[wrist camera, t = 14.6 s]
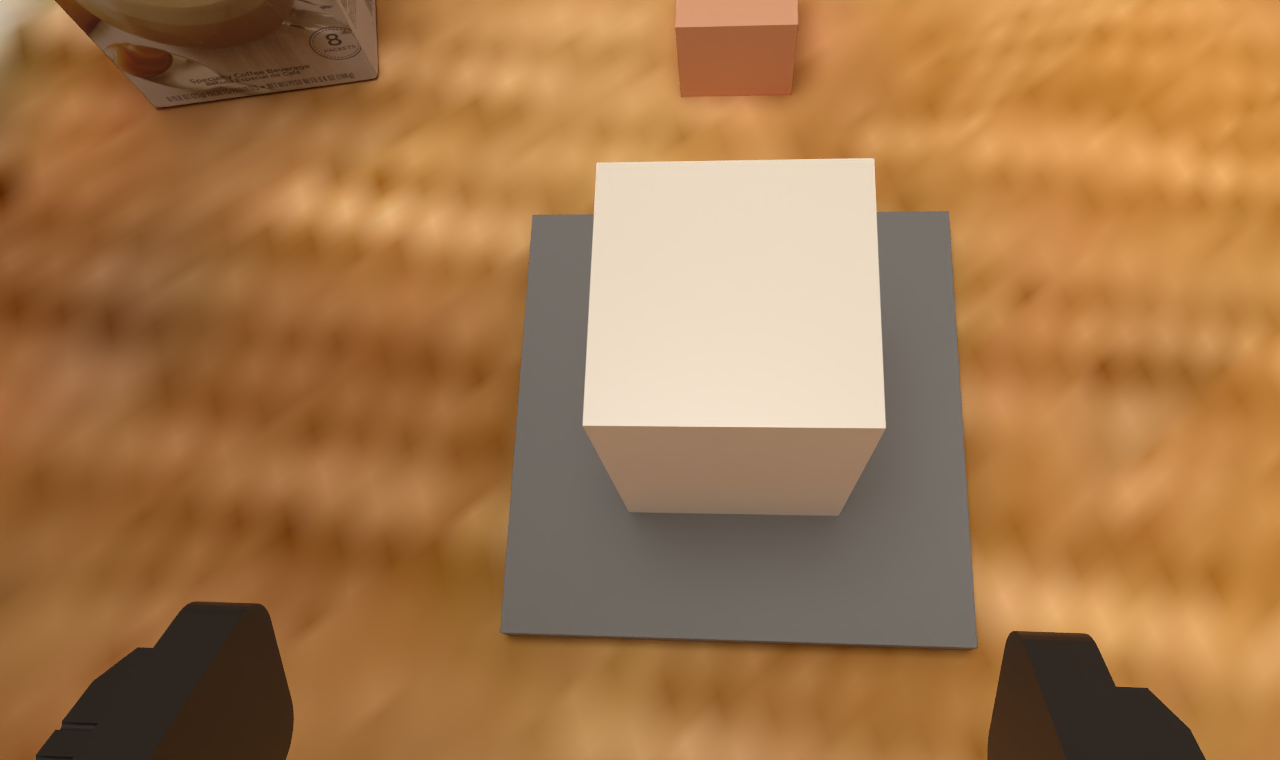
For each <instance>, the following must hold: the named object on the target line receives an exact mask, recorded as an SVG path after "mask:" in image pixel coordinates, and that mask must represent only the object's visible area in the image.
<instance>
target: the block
mask: <svg viewBox="0 0 1280 760" xmlns="http://www.w3.org/2000/svg"><path fill="white" fill-rule="evenodd" d="M675 30H676V42H677V54H678V66H679V78H680V90H681V97H693V96H748V95H791V93H792V82H793V72H794V61H795V51H796V40H797V30H798V0H676V22H675Z"/></svg>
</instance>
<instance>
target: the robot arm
mask: <svg viewBox="0 0 1280 760" xmlns="http://www.w3.org/2000/svg"><path fill="white" fill-rule="evenodd" d="M293 721H294V717H293V705H292V700H291V696H290V692H289V688H288V684H287V680H286V676H285V673H284V669H283V665H282V661H281V657H280V653H279V649H278V645H277V641H276V638H275V634H274V630H273V626H272V622H271V619H270V616H269V613H268V611H267V610H266V608H265V607H264V606H263V605H261V604H255V603H225V602H191V603H189V604H187V605H186V606H185V607H184V608H183V609H182V610H181V611H180V612H179V613H178V615H177V616H176V617H175V619H174V620H173V622H172V623H171V624H170V626H169V627H168V628H167V630H166V631H165V633H164V634H163V635H162V637H161V638H160V639H159V641H158V642H157V644H156V645H155V646H154V648H136V649H135V650H134V651H132V652H131V653H130V654H128V655H127V656H126V657H125V658H123V659H122V660H121V661H119V662H118V663H117V664H115V665H114V666H113V667H111V668H110V669H109V670H107V671H106V672H105V673H103V674H102V675H101V676H99V677H98V678H97V679H95V680H94V681H93V682H92V683H91V685H90V686H89V687H88V688H87V690H86V691H85V692H84V694H83V695H82V696H81V698H80V699H79V700H78V701H77V703H76V704H75V705H74V707H73V708H72V709H71V710H70V712H69V713H68V714H67V716H66V717H65V718H64V720H63V721H62V727H61V729H60V730H55V731H54V733H53V734H52V735H51V736H50V738H49V739H48V740H47V742H46V743H45V744H44V745H43V747H42V748H41V749H40V751H39V752H38V753H37V755H36V760H286V757H287V754H288V751H289V748H290V744H291V739H292V732H293ZM988 760H1206V759H1205V757H1204V755H1203V753H1202V751H1201V750H1200V748H1199V746H1198V744H1197V742H1196V740H1195V738H1194V736H1193V734H1192V732H1191V730H1190V729H1189V728H1188V727H1187V726H1186V725H1185V724H1184V723H1183V722H1182V721H1181V720H1180V719H1179V718H1178V717H1177V716H1176V715H1175V714H1174V713H1173V712H1172V711H1171V710H1169V709H1168V708H1167V707H1166V706H1165V705H1164V704H1163V703H1162V702H1161V701H1160V700H1159V699H1158V698H1157V697H1156V696H1155V695H1154V694H1153V693H1152V692H1151V691H1150V690H1149V689H1148V688H1132V687H1116V686H1115V684H1114V682H1113V679H1112V677H1111V675H1110V673H1109V671H1108V669H1107V666H1106V664H1105V662H1104V660H1103V658H1102V656H1101V653H1100V651H1099V649H1098V647H1097V645H1096V643H1095V641H1094V640H1093V639H1092V637H1090V636H1089V635H1088V634H1084V633H1054V632H1024V631H1013V632H1011V633H1010V634H1009V636H1008V638H1007V641H1006V645H1005V649H1004V655H1003V660H1002V666H1001V671H1000V676H999V682H998V687H997V693H996V698H995V703H994V709H993V714H992V720H991V725H990V731H989V737H988Z"/></svg>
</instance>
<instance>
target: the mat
mask: <svg viewBox="0 0 1280 760" xmlns="http://www.w3.org/2000/svg"><path fill="white" fill-rule="evenodd" d="M876 213H877V236H878V259H879V282H880V305H881V328H882V351H883V374H884V397H885V420H886V429H885V431H884V433H883V435H882V436H881V438H880V440H879V442H878V444H877V446H876V448H875V449H874V451H873V453H872V455H871V457H870V459H869V461H868V462H867V464H866V466H865V468H864V470H863V472H862V474H861V475H860V477H859V479H858V481H857V483H856V485H855V487H854V488H853V490H852V492H851V494H850V496H849V498H848V500H847V501H846V503H845V505H844V507H843V509H842V511H841V513H840V514H839V516H815V515H757V514H699V513H642V512H629V511H628V510H627V508H626V506H625V504H624V502H623V500H622V498H621V497H620V495H619V493H618V491H617V489H616V487H615V485H614V483H613V482H612V480H611V478H610V476H609V474H608V472H607V470H606V468H605V467H604V465H603V463H602V461H601V459H600V457H599V455H598V454H597V452H596V450H595V448H594V446H593V444H592V442H591V440H590V439H589V437H588V435H587V433H586V431H585V429H584V427H583V408H584V389H585V371H586V352H587V333H588V315H589V296H590V278H591V259H592V240H593V222H594V215H533V218H532V231H531V243H530V256H529V269H528V282H527V295H526V308H525V321H524V333H523V346H522V359H521V372H520V385H519V398H518V411H517V423H516V436H515V449H514V462H513V475H512V488H511V501H510V513H509V526H508V539H507V552H506V565H505V578H504V590H503V603H502V616H501V629H500V633H503V634H506V635H528V636H559V637H590V638H621V639H652V640H683V641H714V642H745V643H776V644H807V645H838V646H869V647H900V648H930V649H961V650H971V649H975V648H977V636H976V620H975V605H974V590H973V574H972V559H971V544H970V529H969V513H968V498H967V483H966V467H965V452H964V437H963V421H962V406H961V391H960V375H959V360H958V345H957V329H956V314H955V299H954V283H953V268H952V253H951V237H950V222H949V211H940V212H876Z"/></svg>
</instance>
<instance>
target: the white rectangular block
mask: <svg viewBox="0 0 1280 760" xmlns="http://www.w3.org/2000/svg"><path fill="white" fill-rule="evenodd" d="M583 427H584V429H585V431H586V433H587V435H588V437H589V439H590V440H591V442H592V444H593V446H594V448H595V450H596V452H597V454H598V455H599V457H600V459H601V461H602V463H603V465H604V467H605V468H606V470H607V472H608V474H609V476H610V478H611V480H612V482H613V483H614V485H615V487H616V489H617V491H618V493H619V495H620V497H621V498H622V500H623V502H624V504H625V506H626V508H627V510H628V511H629V512H642V513H699V514H757V515H815V516H839V514H840V513H841V511H842V509H843V507H844V505H845V503H846V501H847V500H848V498H849V496H850V494H851V492H852V490H853V488H854V487H855V485H856V483H857V481H858V479H859V477H860V475H861V474H862V472H863V470H864V468H865V466H866V464H867V462H868V461H869V459H870V457H871V455H872V453H873V451H874V449H875V448H876V446H877V444H878V442H879V440H880V438H881V436H882V435H883V433H884V431H885V429H886V420H885V397H884V374H883V351H882V328H881V305H880V282H879V259H878V236H877V213H876V190H875V167H874V158H858V159H797V160H736V161H674V162H613V163H597V166H596V185H595V203H594V222H593V240H592V259H591V278H590V296H589V315H588V333H587V352H586V371H585V389H584V408H583Z"/></svg>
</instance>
